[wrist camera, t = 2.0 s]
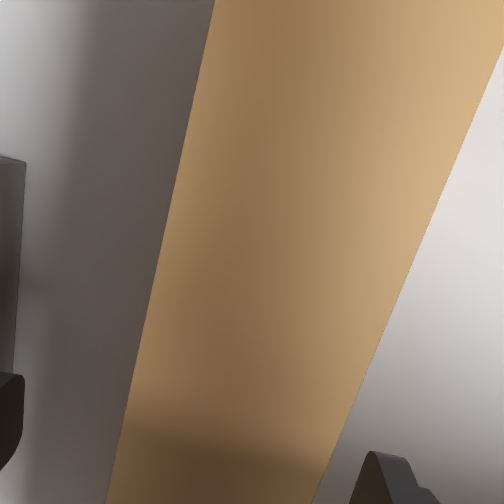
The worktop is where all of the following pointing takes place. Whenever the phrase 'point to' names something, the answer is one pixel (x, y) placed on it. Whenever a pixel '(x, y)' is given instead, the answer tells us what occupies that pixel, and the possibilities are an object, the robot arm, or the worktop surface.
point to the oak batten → (293, 236)
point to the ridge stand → (9, 252)
